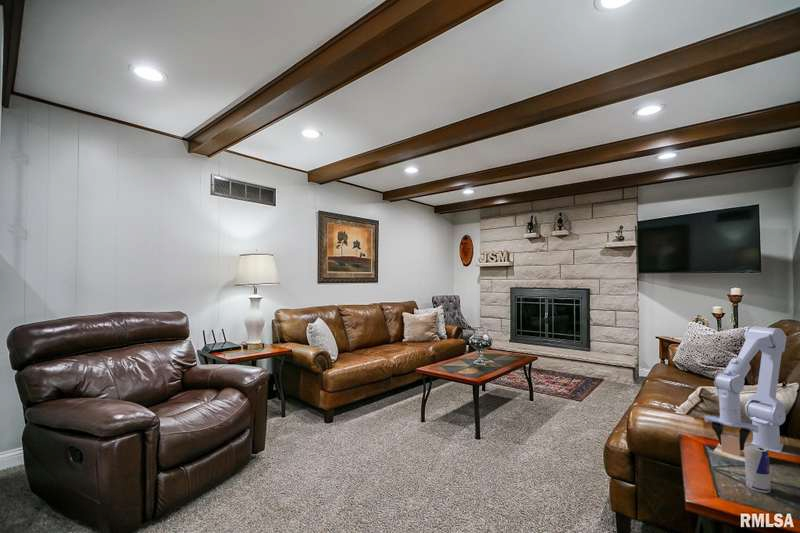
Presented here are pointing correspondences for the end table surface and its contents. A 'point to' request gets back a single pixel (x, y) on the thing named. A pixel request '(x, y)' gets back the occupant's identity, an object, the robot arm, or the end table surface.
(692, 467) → the end table surface
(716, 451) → the birch board
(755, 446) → the energy drink
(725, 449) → the salmon cube
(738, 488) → the end table surface
